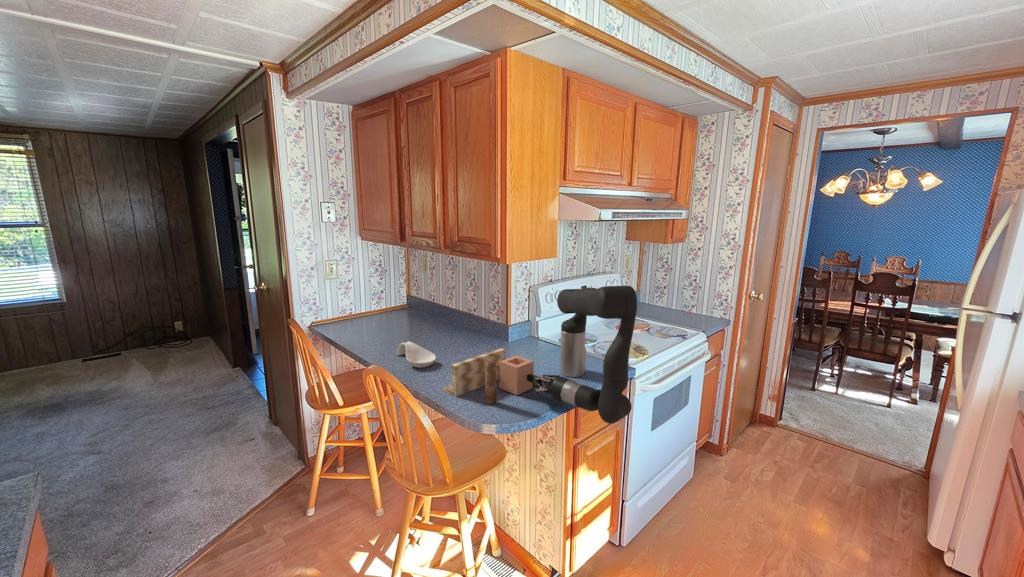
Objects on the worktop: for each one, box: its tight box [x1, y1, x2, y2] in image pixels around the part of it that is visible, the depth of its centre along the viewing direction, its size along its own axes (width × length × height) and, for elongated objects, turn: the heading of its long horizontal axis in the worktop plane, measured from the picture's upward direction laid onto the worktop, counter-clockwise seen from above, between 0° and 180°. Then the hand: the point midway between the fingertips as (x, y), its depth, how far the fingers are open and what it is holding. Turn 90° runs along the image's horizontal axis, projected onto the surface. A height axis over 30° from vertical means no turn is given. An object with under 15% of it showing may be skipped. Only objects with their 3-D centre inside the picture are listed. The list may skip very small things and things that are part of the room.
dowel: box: [484, 361, 497, 406], centre depth 142 cm, size 4×4×14 cm
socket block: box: [499, 355, 535, 396], centre depth 153 cm, size 8×8×10 cm
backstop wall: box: [442, 347, 506, 397], centre depth 157 cm, size 24×7×11 cm, turn 136°
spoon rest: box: [396, 341, 437, 369], centre depth 181 cm, size 24×12×7 cm, turn 42°
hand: (528, 377), depth 149 cm, fingers closed
